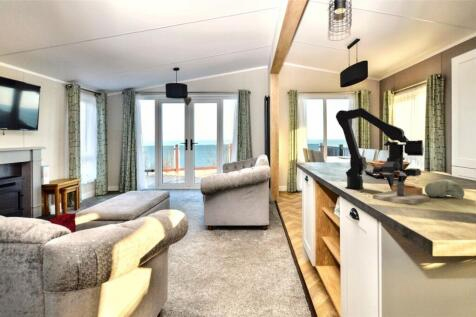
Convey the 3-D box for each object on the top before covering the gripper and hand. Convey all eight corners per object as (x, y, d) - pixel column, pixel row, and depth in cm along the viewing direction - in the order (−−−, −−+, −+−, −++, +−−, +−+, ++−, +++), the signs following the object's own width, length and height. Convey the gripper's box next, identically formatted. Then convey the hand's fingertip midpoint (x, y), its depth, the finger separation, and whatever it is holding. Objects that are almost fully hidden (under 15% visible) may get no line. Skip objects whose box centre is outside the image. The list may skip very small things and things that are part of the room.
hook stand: (373, 198, 114) (373, 181, 114) (389, 194, 122) (389, 178, 121) (412, 205, 102) (413, 186, 102) (428, 200, 109) (428, 182, 109)
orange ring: (387, 193, 124) (387, 186, 124) (399, 190, 131) (399, 183, 130) (414, 197, 115) (414, 189, 115) (426, 193, 122) (426, 186, 121)
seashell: (428, 180, 111) (424, 174, 120) (425, 199, 113) (421, 192, 122) (468, 185, 106) (461, 178, 115) (464, 205, 108) (457, 196, 117)
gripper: (366, 155, 129) (366, 189, 130) (409, 157, 114) (408, 195, 115) (379, 154, 135) (378, 186, 136) (421, 155, 120) (421, 191, 121)
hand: (395, 189), depth 127 cm, fingers open, 3 cm apart
